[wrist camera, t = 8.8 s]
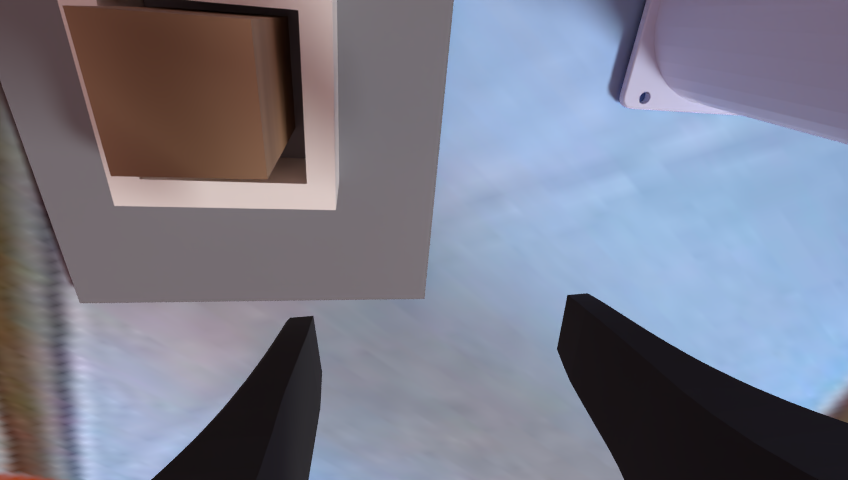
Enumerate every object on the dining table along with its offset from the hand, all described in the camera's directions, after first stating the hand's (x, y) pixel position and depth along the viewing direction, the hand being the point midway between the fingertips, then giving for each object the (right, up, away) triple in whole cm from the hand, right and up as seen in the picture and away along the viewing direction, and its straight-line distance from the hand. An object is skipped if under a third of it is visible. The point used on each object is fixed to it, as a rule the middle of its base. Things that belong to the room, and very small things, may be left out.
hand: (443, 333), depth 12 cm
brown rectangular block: (-8, +9, +4) cm, 12 cm away
